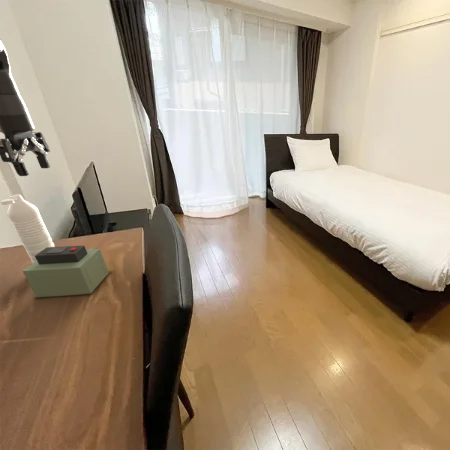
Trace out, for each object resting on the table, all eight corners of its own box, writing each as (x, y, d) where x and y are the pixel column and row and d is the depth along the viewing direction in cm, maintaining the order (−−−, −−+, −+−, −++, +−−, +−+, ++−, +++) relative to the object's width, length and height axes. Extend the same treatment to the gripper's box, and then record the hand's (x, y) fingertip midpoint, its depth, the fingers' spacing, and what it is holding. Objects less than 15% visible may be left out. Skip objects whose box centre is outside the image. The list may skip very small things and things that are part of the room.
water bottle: (42, 264, 90) (6, 192, 79) (65, 260, 92) (34, 190, 81) (29, 279, 82) (-12, 203, 71) (56, 275, 85) (19, 200, 74)
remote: (38, 264, 74) (33, 254, 73) (50, 255, 78) (45, 246, 77) (78, 262, 75) (74, 252, 74) (87, 253, 79) (84, 244, 78)
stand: (36, 297, 75) (22, 271, 71) (60, 275, 84) (49, 251, 80) (90, 293, 77) (79, 267, 73) (108, 272, 86) (99, 248, 82)
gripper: (16, 111, 79) (39, 166, 86) (-32, 114, 66) (0, 179, 74) (44, 111, 80) (64, 165, 87) (2, 114, 67) (31, 178, 74)
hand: (35, 171), depth 80 cm, fingers open, 8 cm apart
